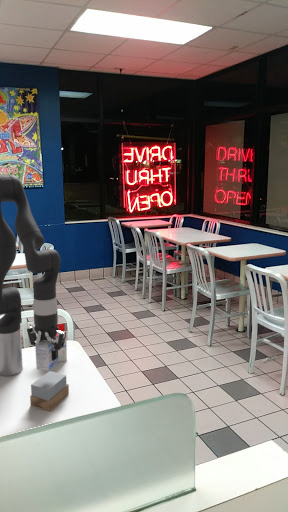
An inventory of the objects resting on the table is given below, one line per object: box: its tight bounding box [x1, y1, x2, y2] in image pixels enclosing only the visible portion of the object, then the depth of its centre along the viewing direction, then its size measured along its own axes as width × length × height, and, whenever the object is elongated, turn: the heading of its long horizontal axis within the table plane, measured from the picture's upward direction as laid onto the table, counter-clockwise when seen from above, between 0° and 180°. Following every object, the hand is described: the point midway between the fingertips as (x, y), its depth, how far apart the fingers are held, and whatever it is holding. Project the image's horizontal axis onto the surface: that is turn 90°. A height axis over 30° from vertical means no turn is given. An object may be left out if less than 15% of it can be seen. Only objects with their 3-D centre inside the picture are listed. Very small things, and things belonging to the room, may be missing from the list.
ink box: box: [56, 323, 68, 363], centre depth 162 cm, size 8×5×15 cm, turn 106°
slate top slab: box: [30, 370, 67, 401], centre depth 134 cm, size 7×10×4 cm
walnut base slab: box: [29, 383, 70, 412], centre depth 135 cm, size 8×11×4 cm
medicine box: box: [34, 338, 58, 372], centre depth 132 cm, size 8×4×9 cm, turn 168°
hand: (47, 358), depth 132 cm, fingers closed on medicine box, 4 cm apart
